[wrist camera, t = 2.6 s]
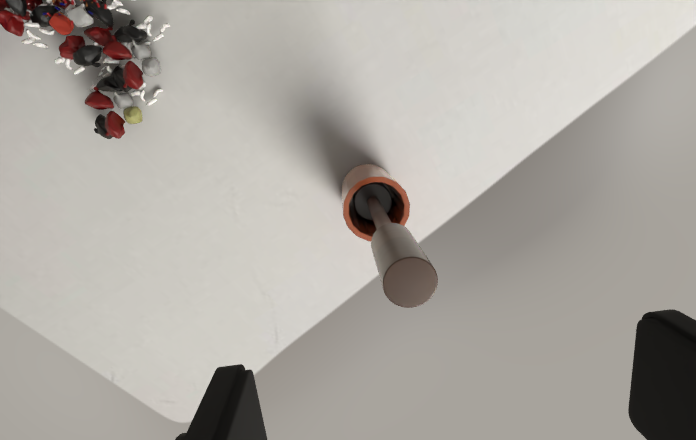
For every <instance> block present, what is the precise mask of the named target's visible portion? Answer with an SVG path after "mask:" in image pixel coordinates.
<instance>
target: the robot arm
mask: <svg viewBox="0 0 696 440" xmlns="http://www.w3.org/2000/svg"><path fill="white" fill-rule="evenodd" d="M629 417H630V419H631V422H632V423H633V425H634V427H635V428H636V429H637V430H638V431H639V432H640V433H641V434H642V435H643V436H644V437H645V438H646V439H647V440H696V320H694V319H692V318H690V317H688V316H686V315H685V314H683V313H681V312H679V311H676V310H663V311H655V312H648V313H646V314H644V315H643V317H642V320H640V321H639V322H638V324H637V330H636V340H635V350H634V360H633V371H632V380H631V390H630V400H629ZM175 440H267V436H266V431H265V427H264V422H263V418H262V413H261V409H260V404H259V399H258V394H257V389H256V385H255V380H254V375H253V372H252V370H245V368H244V366H243V365H242V364H240V365H233V366H225V367H219V368H217V369H216V371H215V373H214V375H213V377H212V379H211V382H210V384H209V386H208V388H207V390H206V392H205V394H204V397H203V399H202V401H201V403H200V405H199V407H198V410H197V412H196V414H195V416H194V418H193V420H192V422H191V425H190V427H189V429H188V431H187V433H182V434H180V435H179V436H178V437H177V438H176V439H175Z"/></svg>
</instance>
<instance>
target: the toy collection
mask: <svg viewBox="0 0 696 440" xmlns="http://www.w3.org/2000/svg"><path fill="white" fill-rule="evenodd" d="M80 1H81V2H82V0H80ZM102 1H103V2H102ZM102 1H99V0H83V4H82V5H80V6H79V7H76V6H75V5H77V4H76V3H75V1H74V0H46V3H45V4H43V2H42V0H0V24H1V25H2V26H3V28H4V29H5V30H7V31H8V32H10V33H13V34H15V35H17V36H22V35H23V32H24V27H47V26H51V27H53V28H54V29H55V30H56V31H57V32H58V33H60V34H62V35H68V34H70V33H71V31H72V30H73V28H74V24H75V25H76V26H77V27H80V28H81V27H85V26H89V25H91V24H93V18H92V17H95V18H97V19H99V20H100V21H101V22H103V23H104V24H105V25H106V26H108V28H100V27H97V26H93V27H91V28H88V29H86V30H85V31H84V34H85V35H86V36H87V37H89V38H90V39H91V40H93V41H94V42H93V45H85V41H84V38H83V37H82V36H75V35H71V36H66V40H65V42H64V43H62V44H61V45H60V46H59V51H60V55H61V57H62V58H60V57H58V58H57V59H55V62H56V64H59V63H62V62H65V59H64V58H66V62H65V63H66V66H67V68H68V69H72V68H71V66H70V65H69V64H70V61H71V60H70V59H74V62H75V63H76V64H78V65H82V66H81V67H79V68H78V69H77V70H75V71H74V73H73V74H78V73H80V72H81V71H83V70H84V69H85V68H84V67H83V66H89V65H93V66H95V67H99V66H100V65H101V64H100V63H95V62H97V61H99V60H100V58H102V57H101V53H102V52H103V53H104V54H106V55H107V56H109V57H107V58H106V59H104V61H103V63H107V62H108V63H115V64H119V60H124V59H127V60H129V59H131V58H132V54H133V55H134V56H135V57H134V58H137V59H138V60H142V59H145V60H143V61H142V70H143V72H144V74H145V75H147V76H156V75H159V74H160V62H159V61H158V59H156V58H150V57H151V51H150V49H149V47H148V46H147V45H149V44H151V43H150V42H149V41H146V42H144V43H143V44H135V42H140V41H142V40H144V39H145V38H146V37H147V34H148V36H152V35H151V33H150V28H151V23H149V22H150V21H152V20H153V17H152V16H151V15H149V16H147V18H146V19H145V20H144V22H143V24H139V25H137V26H136V28H135V27H133V26H131V25H133V24H135V21H134V20H131V21H130V23H129V25H127V26H124V27H121V28H119V29H118V30H117V31H116V32H115V33H114V35H111V33H110V32H109V30H113V25H114V22H113V16H112V13H111V11H110V10H112V9H115V8H116V7H117V6H118V5H120V6H123V4H122V3H121V2H120V1H118V0H112V1H114V2H113V3H111V4H110V5H107V4H106V0H102ZM133 1H135V0H133ZM54 4H55V5H57V6H58V7H61V8H63V9H65V13H66V14H65V15H64V13H62V12H61V11H60V10H61V9H60V8H58V7H57V6H53V5H54ZM75 7H76V8H75ZM84 8H85V9H86V11H87V12H85V10H84ZM13 11H14V14H13ZM116 11H119V12H120V13H126V14H128V15H130V12H129V11H128V10H126V9H122V8H118V9H116ZM67 13H68V15H67ZM91 16H92V17H91ZM68 18H69V19H68ZM22 19H24V20H28V21H27V22H25V23H24V22H23V20H22ZM70 20H71V21H70ZM148 23H149V24H148ZM145 24H148V25H147V27H146V25H145ZM166 27H170V25H169V24H168V23H166V24H164V25H163V26H162V28H160V34H159V35H157V36H156V37H154V39H153V41H158V40H159V39H160V38H162V37H164V35H163V34H162V32H164V30H165V28H166ZM141 29H146V32H147V33H146V32H145V31H143V30H141ZM39 30H40V31H41V32H42V33H45V34H48V35H53V34H54V33H55V31H54V30H52V31H47V30H45V29H40V28H39ZM26 33H27V34H28V35H29V36H30V37H28V38H27V39H24V40H23V41H22V43H25V44H29V43H32V42H34V41H35V40H41V38H39V37H38V36H37V35H34V34H32V33H31V32H30V31H29V29H27V30H26ZM116 39H117V40H119V41H121V42H118V41H117V40H116ZM126 42H129V43H128V45H127V44H126ZM131 42H132V43H131ZM132 44H133V45H134V46H133V47H132V48H131V46H132ZM33 45H36V46H38V47H44V48H46V49H48V46H47V45H45V44H42V43H39V42H36V43H33ZM99 45H101V46H104V48H103V51H102V48H101V47H100V46H99ZM112 59H115V60H112ZM105 67H106V66H105ZM105 67H104V68H105ZM106 68H107V70H108V71H109V72H107V73H106V74H104V75H103V76H102V73H103V72H104V71H103V72H102V73H101V76H102V78H103V79H101V80H100V81H99V82H98V83H97V85H96V86H95V87H94V88H93V89H94V90H96V91H95V92H92V90H93V89H92V90H90V89H89V90H90V91H91V92H92V93H91V94H89V95H88V97H87V98H86V100H85V104H87V105H89V106H91V107H93V108H95V109H98V110H104V109H107V108H114V105H113V102H112V101H111V99H110V98H109V97H108V96H105V95H103V94H102V93H100V92H99V90H101V91H114V95H115V96H114V98H113V99H114V101H115V103H116V104H117V106H118V107H119V108H120V109H123V108H126V109H125V110H124V118H125V120H126V121H127V122H128V123H130V124H135V123H139V122H141V121H142V113H141V110H140V109H139V108H138V107H136V106H133V107H132V105H133V100H132V98H131V96H134V95H135V96H137V95H140V98H141V100H142V101H146V100H145V99H144V98H143V96H144V93H145V92H144V90H142V88H144V87H145V86H146V83H145V82H143V79H142V75H143V72H142V71H141V70H140V69H139V67H138V66H137V65H136V64H134V63H133V62H132V61H128V62H127V63H126V64H125V66H123V65H118V66H117V67H115V69H114V70H112V69H110V67H109V65H107V67H106ZM99 75H100V73H99ZM99 75H98V76H99ZM132 88H133V89H136V90H137V91H133V92H131V93H130V94H131V96H130V95H129V94H128V93H120V94H117V93H116V91H125V92H128V91H129V90H131V89H132ZM139 90H142V91H141V93H140V92H139ZM90 91H89V92H90ZM158 92H162V90H161V89H157V90H156V91H155V93H153V97H154V98H153V99H152V100H150V101H149V102H147V104H146V105H147V106H148V105H151V104H152V103H154V102H156V101H157V100H156V98H155V96H157V94H158ZM124 123H125V121H124V120H123V119H122V118H121V117H120V116H119V115H118V114H117V113H115V112H114V111H110V112H109V113H108V114H107V116H106V117H105V116H103V115H102V114H100V115H98V117H97V118H96V121H95V126H96V127H97V129H96V128H95V129H94V131H95V133H98V134H100V135H101V136H103V137H105V138H107V139H111V138H112V137H115V138H121V136H122V135H124V133H125V131H124V127H123V124H124Z"/></svg>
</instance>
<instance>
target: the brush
mask: <svg viewBox="0 0 696 440" xmlns="http://www.w3.org/2000/svg"><path fill="white" fill-rule="evenodd" d="M352 197H353V202H354V206H355V209H356V211H357V213H358V214H359V215H360V216H361V217H362V218H364V219H367V220H372V221H374V224H375V227H376V229H377V230H376V231H375V233H374V234H373V237H372V240H371V247H372V251H373V255H374V258H375V262H376V265H377V269H378V272H379V276H380V279H381V283H382V286H383V290H384V293H385V295H386V296H387V298H388V299H389V300H390V301H391V302H393V303H394V304H396V305H398V306H401V307H407V308H409V307H416V306H419V305H422V304H424V303H425V302H427V301H428V300H429V299H430V298H431V297H432V296H433V294H434V293H435V290H436V288H437V283H438V278H437V274H436V271H435V269H434V267H433V266H432V264H431V263H430V261H429V260H428V258H427V257H426V255H425V254H424V252H423V251H422V249H421V248H420V246H419V245H418V243H417V242H416V240H415V239H414V237H413V236H412V234H411V233H410V231H409V230H408V229H407V228H406V227H404V226H403V225H401V224H397V223H392V222H391V221H390V219H389V217H388V215H387V214H388V212H389V211H390V209H391V205H392V197H391V194H390V192H389V191H388V190H387V188H386V187H385V186H384V184H383V183H382V182H371V183H368V184H366V185H363V186H361V187H360V188H359V189H358V190H357V191H356V192H355V193H354V194H353V196H352Z"/></svg>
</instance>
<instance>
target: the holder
mask: <svg viewBox="0 0 696 440" xmlns="http://www.w3.org/2000/svg"><path fill="white" fill-rule="evenodd" d="M371 182H382V183H383V184H384V186H385V187H386V188H387V190H388V191H389V192H390V194H391V197H392V205H391V209H390V211H389V212H388V214H387V215H388V217H389V219H390V221H391V222H392V223H397V224H401V225H403V226H405V223H406V221H407V219H408V217H409V208H410V204H409V200H408V197H407V194H406V192H405V190H404V189H403V188H402V187H401V186H400V185H399V184H398V183H397V182H396V181H395V180H394V179H393V178H392V177H391V176H390V175H389V174H388V173H387V172H386V171H385V170H384V169H383V168H381V167H379V166H376V165H372V164H363V165H359V166H357V167H355V168H353V169H352V170H351V171H349V173H348V174H347V175H346V176H345V178H344V180H343V183H342V206H343V216H344V219H345V221H346V224H347V226H348V228H349V229H350V230H351V231H352V232H353V233H354V234H355V235H356V236H358V237H360V238H362V239H365V240H367V241H371V240H372V237H373V234H374V233H375V231H376V230H377V229H376V227H375V224H374V221H372V220H367V219H364V218H362V217H361V216H360V215H359V214H358V213H357V211H356V209H355V206H354V202H353V197H352V196H353V194H354V193H355V192H356V191H357V190H358V189H359V188H360V187H361V186H363V185H366V184H368V183H371Z"/></svg>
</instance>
